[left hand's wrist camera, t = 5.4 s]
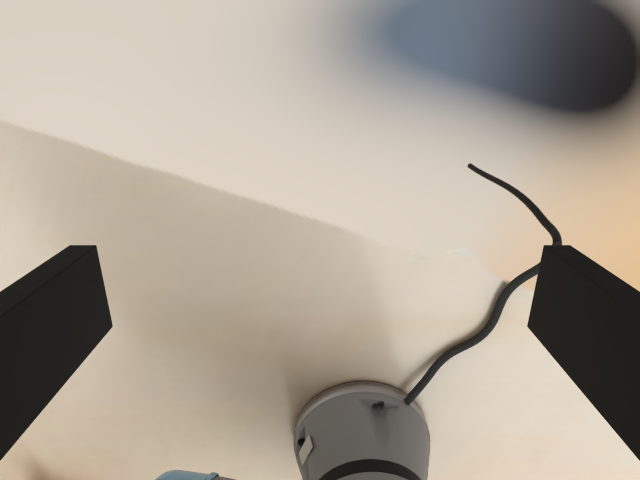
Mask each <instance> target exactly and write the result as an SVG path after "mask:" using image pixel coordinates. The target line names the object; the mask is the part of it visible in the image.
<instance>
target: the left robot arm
mask: <svg viewBox="0 0 640 480" xmlns="http://www.w3.org/2000/svg"><path fill="white" fill-rule="evenodd" d="M468 168H469V169H471V170H472V171H474V172H475V173H477V174H479V175H480V176H482V177H484V178H486V179H488V180H490V181H492V182H493V183H495V184H497V185H499V186H501V187H503V188H504V189H506V190H508V191H509V192H510V193H512V194H513V195H514V196H516V197H517V198H518V199H519V200H520V201H522V202H523V203H524V204H525V205H526V206H527V207H528V209H529V210H530V211H531V212H532V213H533V214H534V216H535V217H536V218H537V220H538V221H539V222H540V223H541V225H542V226H543V227H544V228H545V229H546V230H547V231H548V232H549V234H550V235H551V237H552V240H553V243H552V245H544V247H543V252H542V257H541V262H540V263H539V264H537V265H535V266H534V267H532V268H530V269H529V270H527V271H525V272H524V273H522V274H520V275H519V276H517V277H516V278H515V279H514V280H512V281H511V282H510V283H509V284H508V285H507V286H506V287H505V289H504V290H503V291H502V293H501V294H500V296H499V298H498V300H497V302H496V305H495V307H494V310H493V312H492V315H491V317H490V319H489V321H488V323H487V324H486V325H485V327H484V328H483V329H482V330H481V331H480V332H479V333H477V334H476V335H475V336H473V337H472V338H470V339H468V340H466V341H464V342H462V343H460V344H458V345H456V346H454V347H453V348H451V349H449V350H448V351H446V352H445V353H443V354H442V355H441V356H440V357H439V358H438V359H437V360H436V361H435V362H434V363H433V364H432V366H431V367H430V368H429V370H428V371H427V372H426V374H425V375H424V376H423V378H422V379H421V380H420V381H419V382H418V384H417V385H416V386H415V387H414V388H413V389H412V391H411V392H410V393H409V394H408V395H407V394H405V393H404V392H402V391H400V390H399V389H397V388H394V387H392V386H389V385H386V384H382V383H377V382H368V381H357V382H349V383H344V384H340V385H337V386H334V387H331V388H329V389H327V390H325V391H323V392H321V393H320V394H318V395H317V396H315V397H314V398H313V399H312V400H311V401H310V402H309V403H308V404H307V405H306V406H305V407H304V408H303V410H302V411H301V413H300V415H299V417H298V419H297V423H296V427H295V438H294V450H295V455H296V460H297V463H298V466H299V469H300V472H301V475H302V478H303V480H427V476H428V465H429V453H430V435H429V430H428V427H427V424H426V421H425V417H424V415H423V413H422V411H421V409H420V407H419V406H418V405H417V403H416V402H415V401H414V399H415V398H416V397H417V396H418V394H419V393H420V392H421V391H422V390H423V389H424V387H425V386H426V385H427V384H428V383H429V381H430V380H431V379H432V377H433V376H434V375H435V373H436V372H437V371H438V369H439V368H440V367H441V366H442V365H443V364H444V363H445V362H446V361H447V360H449V359H450V358H451V357H453V356H455V355H456V354H458V353H460V352H462V351H464V350H466V349H468V348H470V347H472V346H474V345H476V344H477V343H479V342H480V341H482V340H483V339H484V338H485V337H486V336H488V334H489V333H490V332H491V331H492V330H493V328H494V327H495V325H496V324H497V322H498V320H499V317H500V315H501V313H502V310H503V308H504V305H505V303H506V301H507V299H508V298H509V296H510V295H511V293H512V292H513V291H514V290H515V289H516V288H517V287H518V286H519V285H521V284H522V283H524V282H525V281H527V280H528V279H530V278H532V277H533V276H535V275H537V274H538V277H537V282H536V287H535V291H534V296H533V301H532V306H531V311H530V316H529V321H528V326H527V327H528V328H529V329H530V330H531V331H532V333H533V334H534V335H535V336H536V337H537V338H538V340H539V341H540V342H541V343H542V344H543V346H544V347H545V348H546V349H547V350H548V352H549V353H550V354H551V355H552V356H553V358H554V359H555V360H556V361H557V362H558V364H559V365H560V366H561V367H562V368H563V370H564V371H565V372H566V373H567V374H568V376H569V377H570V378H571V379H572V380H573V381H574V383H575V384H576V385H577V386H578V387H579V389H580V390H581V391H582V392H583V393H584V395H585V396H586V397H587V398H588V399H589V401H590V402H591V403H592V404H593V405H594V407H595V408H596V409H597V410H598V411H599V413H600V414H601V415H602V416H603V417H604V419H605V420H606V421H607V422H608V423H609V425H610V426H611V427H612V428H613V429H614V430H615V432H616V433H617V434H618V435H619V436H620V438H621V439H622V440H623V441H624V442H625V444H626V445H627V446H628V447H629V448H630V450H631V451H632V452H633V453H634V454H635V456H636V457H637V458H638V459H639V460H640V292H639V291H638V290H636V289H635V288H633V287H632V286H630V285H629V284H627V283H626V282H624V281H623V280H621V279H620V278H618V277H617V276H615V275H614V274H612V273H611V272H609V271H608V270H606V269H605V268H603V267H602V266H600V265H599V264H597V263H596V262H594V261H593V260H591V259H590V258H588V257H587V256H585V255H584V254H582V253H581V252H579V251H578V250H576V249H575V248H573V247H572V246H570V245H562V239H561V235H560V233H559V231H558V230H557V228H556V227H555V226H554V225H553V224H552V223H551V222H550V221H549V220H548V219H547V218H546V216H545V215H544V214H543V213H542V212H541V210H540V209H539V208H538V207H537V206H536V205H535V204H534V203H533V202H532V201H531V200H530V199H529V198H528V197H527V196H526V195H524V194H523V193H522V192H520V191H519V190H518V189H516V188H515V187H513V186H511V185H510V184H508V183H506V182H504V181H503V180H501V179H499V178H497V177H495V176H493V175H491V174H488V173H486V172H485V171H483V170H481V169H479V168H477V167H476V166H474V165H473V164H471V163H470V164H468ZM112 327H113V326H112V321H111V316H110V311H109V306H108V301H107V296H106V291H105V286H104V282H103V277H102V272H101V267H100V262H99V257H98V252H97V247H96V245H70V246H68V247H67V248H65V249H64V250H62V251H61V252H59V253H58V254H56V255H55V256H53V257H52V258H50V259H49V260H47V261H46V262H44V263H43V264H41V265H40V266H38V267H37V268H35V269H34V270H32V271H31V272H29V273H28V274H26V275H25V276H23V277H22V278H20V279H19V280H17V281H16V282H14V283H13V284H11V285H10V286H8V287H7V288H5V289H4V290H2V291H1V292H0V460H1V459H2V458H3V457H4V456H5V454H6V453H7V452H8V451H9V450H10V448H11V447H12V446H13V445H14V444H15V442H16V441H17V440H18V439H19V438H20V436H21V435H22V434H23V433H24V432H25V430H26V429H27V428H28V427H29V426H30V425H31V423H32V422H33V421H34V420H35V419H36V417H37V416H38V415H39V414H40V413H41V411H42V410H43V409H44V408H45V407H46V405H47V404H48V403H49V402H50V401H51V399H52V398H53V397H54V396H55V395H56V393H57V392H58V391H59V390H60V389H61V387H62V386H63V385H64V384H65V383H66V381H67V380H68V379H69V378H70V377H71V376H72V374H73V373H74V372H75V371H76V370H77V368H78V367H79V366H80V365H81V364H82V362H83V361H84V360H85V359H86V358H87V356H88V355H89V354H90V353H91V352H92V350H93V349H94V348H95V347H96V346H97V344H98V343H99V342H100V341H101V340H102V338H103V337H104V336H105V335H106V334H107V333H108V331H109V330H110V329H111V328H112ZM155 480H235V479H230V478H225V477H220V476H219V473H215V472H213V473H211V474H204V473H196V472H189V471H182V470H171V471H168V472H165V473H163V474H162V475H160V476H159V477H158V478H156V479H155Z"/></svg>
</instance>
